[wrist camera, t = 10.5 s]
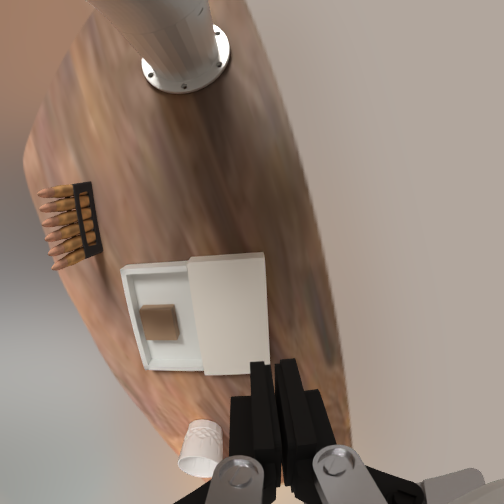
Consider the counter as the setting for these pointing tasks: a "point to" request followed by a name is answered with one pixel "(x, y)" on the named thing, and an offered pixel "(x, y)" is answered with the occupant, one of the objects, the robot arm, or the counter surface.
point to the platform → (230, 311)
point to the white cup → (201, 448)
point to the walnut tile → (159, 322)
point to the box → (163, 292)
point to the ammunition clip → (72, 223)
